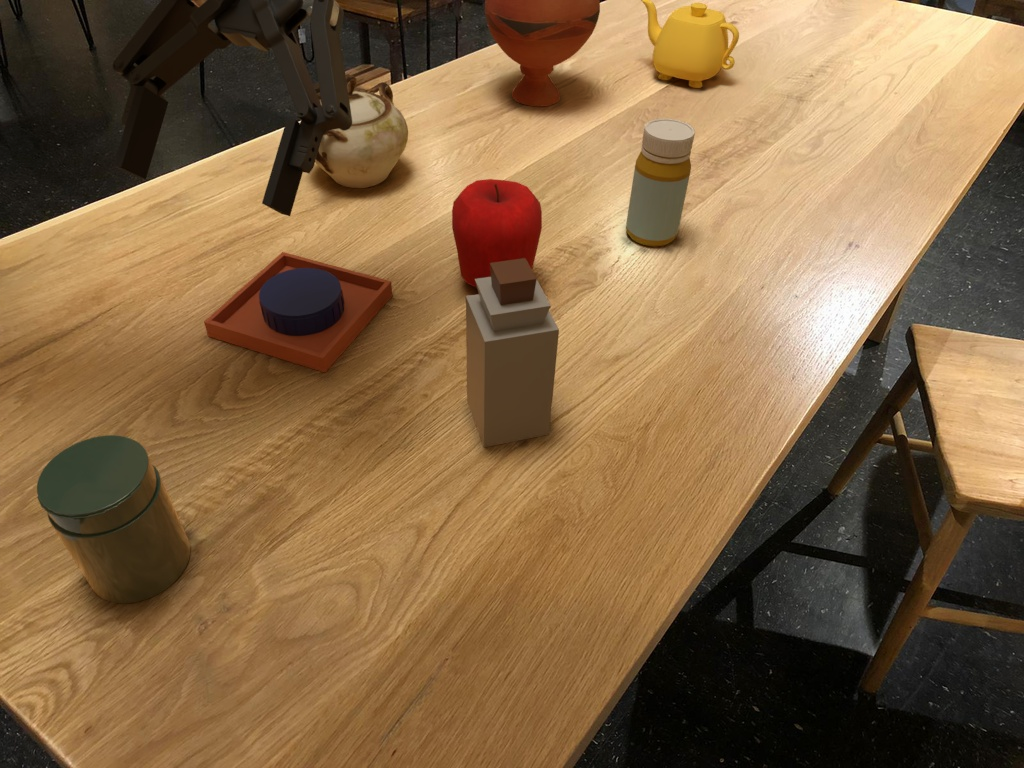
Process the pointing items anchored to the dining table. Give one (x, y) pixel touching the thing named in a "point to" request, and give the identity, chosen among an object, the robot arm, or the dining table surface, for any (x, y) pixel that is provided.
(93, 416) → the dining table surface
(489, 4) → the goblet
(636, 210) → the bottle
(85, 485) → the jar
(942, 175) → the dining table surface
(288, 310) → the lid
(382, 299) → the tray
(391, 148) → the sugar bowl
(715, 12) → the teapot
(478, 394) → the perfume bottle
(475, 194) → the apple
